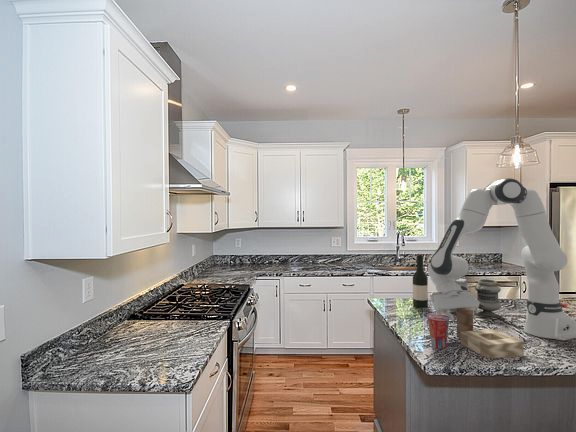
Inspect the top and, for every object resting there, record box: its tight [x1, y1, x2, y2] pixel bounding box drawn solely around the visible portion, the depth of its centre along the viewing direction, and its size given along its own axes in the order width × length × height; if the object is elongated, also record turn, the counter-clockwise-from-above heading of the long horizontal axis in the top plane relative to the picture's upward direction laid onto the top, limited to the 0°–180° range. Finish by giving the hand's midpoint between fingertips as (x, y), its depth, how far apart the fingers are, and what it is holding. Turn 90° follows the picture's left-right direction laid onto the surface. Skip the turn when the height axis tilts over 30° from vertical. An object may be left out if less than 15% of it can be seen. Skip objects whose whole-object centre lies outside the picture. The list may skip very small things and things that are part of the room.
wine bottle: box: [412, 253, 429, 309], centre depth 204 cm, size 8×8×30 cm
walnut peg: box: [456, 307, 474, 339], centre depth 151 cm, size 4×4×12 cm
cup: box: [426, 313, 451, 350], centre depth 141 cm, size 9×8×12 cm
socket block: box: [460, 328, 525, 360], centre depth 137 cm, size 15×15×5 cm
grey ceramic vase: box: [474, 278, 502, 319], centre depth 184 cm, size 12×12×18 cm
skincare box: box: [455, 277, 468, 287], centre depth 201 cm, size 8×7×16 cm
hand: (463, 319), depth 152 cm, fingers open, 8 cm apart
